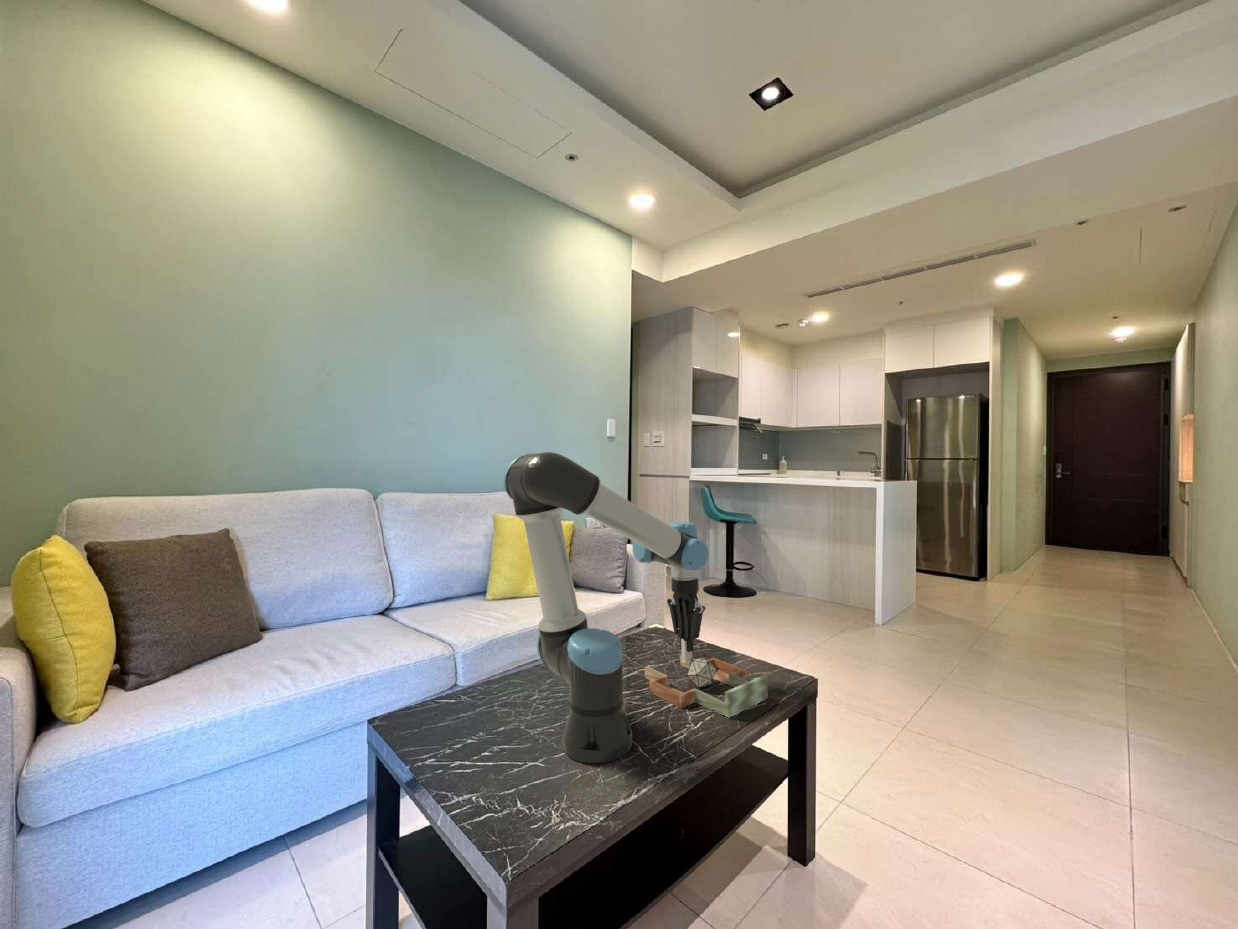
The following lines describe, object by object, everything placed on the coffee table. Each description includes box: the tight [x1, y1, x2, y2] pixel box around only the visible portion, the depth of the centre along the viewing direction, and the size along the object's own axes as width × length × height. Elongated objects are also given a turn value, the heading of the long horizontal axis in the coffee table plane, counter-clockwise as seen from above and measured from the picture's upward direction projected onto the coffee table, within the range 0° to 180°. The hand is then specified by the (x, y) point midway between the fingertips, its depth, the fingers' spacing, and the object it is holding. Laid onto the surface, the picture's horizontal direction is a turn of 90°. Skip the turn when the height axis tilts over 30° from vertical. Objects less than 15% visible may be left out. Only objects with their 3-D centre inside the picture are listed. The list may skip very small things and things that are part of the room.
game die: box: [684, 653, 719, 691], centre depth 135 cm, size 9×8×10 cm
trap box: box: [644, 654, 769, 719], centre depth 135 cm, size 25×31×6 cm
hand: (687, 661), depth 139 cm, fingers closed
